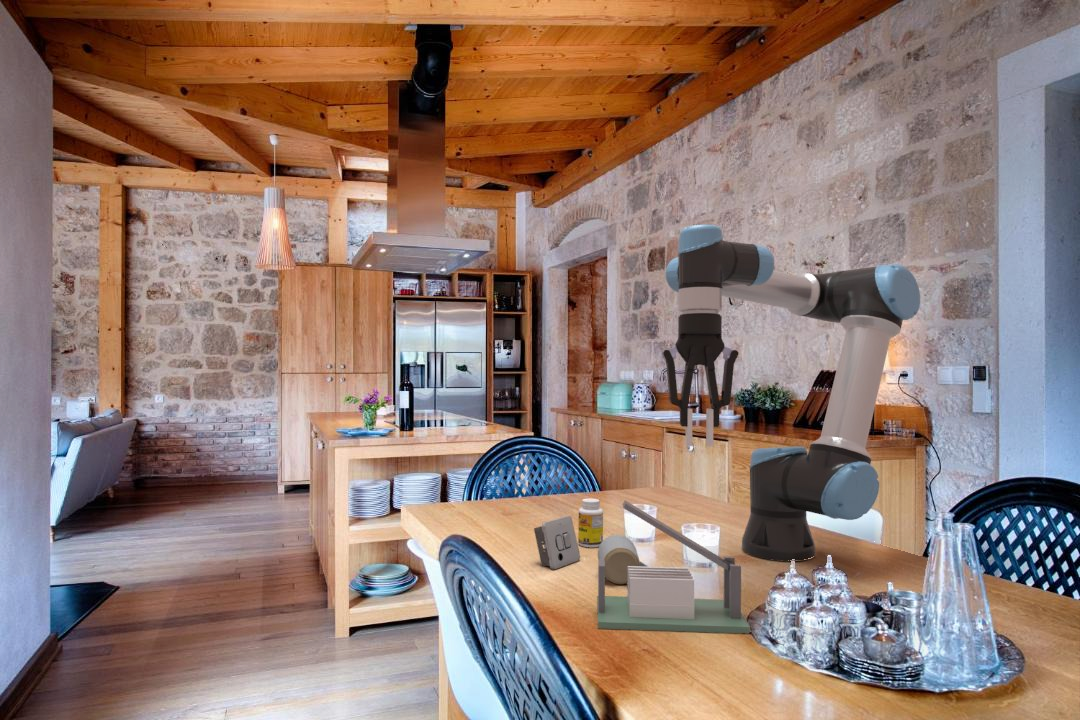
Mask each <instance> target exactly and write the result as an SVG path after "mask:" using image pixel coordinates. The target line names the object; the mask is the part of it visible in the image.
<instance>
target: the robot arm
mask: <svg viewBox="0 0 1080 720" xmlns="http://www.w3.org/2000/svg"><path fill="white" fill-rule="evenodd" d="M678 237H679V239H678V250H677V255H678V256H677V257H674V258H673V259H671V260H670V261H669V263H668V264H667V267H666V269H665V279H666V282H667V284H668V286H669V288H671V290H672V291H674V292H676V293H678V312H679V313H681V314H680V315H679V316H678V321H677V322H678V323H677V325H678V326H677V327H678V329H677V332H678V334H677V336H678V337H677V341H676V342H675V344H674V346H673V347H671V348H668V349H664V350H662V352H661V355H662V357H663V360H664V362H665V363H666V364H665V365H666V374H667V375H666V378H667V387H668V390H667V391H668V401H669V403H670V404H671V405H674V406H676V407H678V408H679V425H680V426H681V427H685V446H687V447H693V408H690V407H689V402H690V398H691V397H690V396H691V390H692V383H693V377H694V373H695V367H696V366H702V367H703V366H704V370H705V371H704V372H705V377H706V383H707V391H708V397H709V403H710V408H706V411H705V413H706V418H705V419H706V425H705V427H706V429H705V430H706V432H705V434H706V435H705V437H706V438H705V441H706V443H705V444H706V446H708V447H714V428H719V426H720V409H721V408H723V407H726V406H729V405H730V404H731V398H732V389H733V378H734V369H735V368H734V367H735V362H736V360H737V358H738V356H739V353H740V352H739V351H738V350H737V349H734V350H733V349H731V348H729V347H727V346H725V342H724V341H723V338H722V337H723V335H722V326H723V325H722V319H723V318H722V317H723V316H722V315H721V314H719V312H721V311H722V310H723V307H722V306H723V305H722V303H723V302H722V301H723V299H722V297H725V298H731V299H736V300H741V301H746V302H751V303H755V304H761V305H767V306H772V307H777V308H783V309H787V310H788V311H789V313H791V314H793V315H796V316H800V317H804V318H805V317H806V318H808V319H809V318H810V319H814V320H819V321H825V322H830V323H837V324H840V325H841V326H842V327H843V329H844V331H845V334H844V338H843V342H842V347H841V350H840V353H839V358H838V363H837V367H836V370H835V371H836V372H835V375H834V380H833V382H832V383H833V384H832V388H831V391H830V396H829V401H828V404H827V408H826V413H825V417H824V421H823V425H822V430H821V435H820V437H819V438H817V439H815V440H814V441H812V442H811V443H810V445H809V449H808V451H807V448H806V446H779V447H777V446H776V447H765V448H764V447H762V448H756V449H754V450H753V451H752V452H751V454H750V465H749V485H750V486H749V492H750V495H749V496H750V498H749V499H750V502H749V503H750V510H749V511H750V513H749V514H750V515H749V518H748V521H747V524H746V527H745V530H744V533H743V535H742V540H741V549H742V551H743V552H744V553H745V552H746V554H747V553H748V555H750V556H752V555H753V556H752V557H755V556H756V558H759V557H760V559H764V558H765V560H770V559H773V560H772V561H777V560H783V561H782V562H791V561H790V560H792V559H795V560H804V559H808V558H811V557H813V556H815V557H816V544H815V540H814V538H813V536H812V531H811V529H810V526H809V523H808V521H807V512H809V513H813V514H818V515H821V516H826V517H829V518H831V519H834V520H835V519H837V520H838V519H839V520H847V521H853V520H858V519H860V518H862V517H863V516H864V515H865V514H867V513H869V511H870V510H871V509H872V508H873V506H874V504H875V502H876V501H877V498H878V495H879V491H880V481H879V480H878V479H879V475H878V471H877V470H876V469H875V467H874V466H873V465H871V464H872V457H871V455H870V453H869V452H868V451H867V448H866V447H867V443H868V438H869V434H870V429H871V426H872V425H871V424H872V420H873V416H874V411H875V408H876V402H877V398H878V394H879V390H880V385H881V381H882V377H883V372H884V367H885V365H886V358H887V354H888V350H889V346H890V341H891V339H893V338H894V337H896V336H898V335H899V334H900V333H901V331H902V325H903V321H909V320H910V319H913V318H914V317H915V316H916V315H917V314H918V312H919V309H920V306H921V291H920V287H919V284H918V283H917V280H916V277H915V276H914V274H913V273H912V272H911V270H910V269H909V268H907V267H905V266H904V265H903V264H902V265H901V264H898V263H897V264H896V263H893V264H879V265H877V266H869V267H862V268H855V269H847V270H839V271H833V272H828V273H827V272H826V273H816V274H814V273H809V272H801V273H797V274H792V273H788V272H783V271H779V270H775V258H774V255H773V253H772V252H771V250H770V249H769V248H768V247H766V246H762V245H757V244H755V243H744V242H743V243H742V242H735V241H728V240H723V239H724V236H723V231H722V228H721V227H720V226H718V225H715V224H695V225H689V226H686V227H683V229H681V231H680V232H679V236H678ZM677 352H678V354H679V355H680V357H681V358H682V359H683V361H684V362H685V363H684V373H683V379H682V386H681V393H680V399H679V398H678V388H677V376H676V365H675V359H677ZM721 353H722V358H723V360H724V364H723V374H722V375H723V376H722V384H721V395H720V397H719V390H718V383H717V378H716V377H717V375H716V366H715V362H716V360H717V359H718V357H720V355H721ZM788 560H789V561H788ZM804 561H805V560H804Z"/></svg>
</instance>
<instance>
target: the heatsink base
mask: <svg viewBox="0 0 1080 720" xmlns="http://www.w3.org/2000/svg"><path fill="white" fill-rule="evenodd" d="M597 559H598V558H597ZM723 559H724V560H726V561H727V562H729V561H732V562H734V564H735V565H730V574H729V572H728V571H727V570H726V569H724V568H723V599H715V598H714V599H713V598H712V599H708V598H695V579H694V577H693V576H692V573H691V571H690V568H689V567H678V566H677V567H676V566H675V567H674V566H672V567H670V566H668V567H667V566H648V567H642V566H628V583H627V592H626V593H627V594H626V596H624V595H623V596H620V595H619V596H618V595H606V577H605V560H604V559H598V561H597V563H598V566H597V567H598V568H597V571H598V572H597V573H598V574H597V575H598V578H597V579H598V580H597V581H598V582H597V584H598V586H597V587H598V589H597V596H596V598H597V599H596V604H597V605H596V606H597V607H596V608H597V609H596V610H597V629H600V630H601V629H604V630H606V629H607V630H629V629H630V630H632V631H633V630H634V631H635V630H636V631H658V632H660V631H661V632H667V631H668V632H684V631H685V632H689V633H692V632H693V633H714V634H716V633H718V634H720V633H721V634H742V633H745V634H746V635H747V634H748V635H749V629H750V628H751V626H750V624H749V623H748V621H747V619H746V617H745V616H744V614H743V613H742V566H741V564H736V560H735V559H736V558H735V556H723ZM630 630H629V631H630Z"/></svg>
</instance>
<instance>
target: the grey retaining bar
mask: <svg viewBox="0 0 1080 720" xmlns="http://www.w3.org/2000/svg"><path fill="white" fill-rule="evenodd" d="M621 505H622V508H623V509H624V510H626V511H627V512H629V513H631V514H632V515H634V516H636V517H638V518H640V519H641V520H642V521H644V522H646V523H647V524H649V525H651V526H653V527H655V529H657V530H659V531H661V532H662V533H665V534H666V535H668V536H669V537H671V538H673V539H674V540H676V541H678V542H679V543H681V544H683V545H684V546H686V547H688V548H689V549H690V550H692V551H694V552H696V553H697V554H700V555H701V556H703V558H706V559H707V560H709V561H711V562H712V563H714V564H716V565H718V566H719V567H721V568H722V569H723V570H724V569H726V570H727V571H728V572H729V574H730V565H736V563H735V564H734V562H732V561H729V562H727V561H726V560H724V558H723V557H721V556H719V555H718V554H716V553H714V552H712V551H710V550H709V549H707V548H705V547H704V546H703V545H701V544H699V543H697V542H696V541H694V540H693V539H690V538H688V536H686V535H684V534H683V533H680V532H679V531H677V530H676V529H674V528H672V527H671V526H669V525H667V524H666V523H664V522H662V521H661V520H659V519H657V518H656V517H654V516H652V515H650V514H649V513H647V512H645V511H643V510H642V509H640V508H639V507H637V506H636V505H634V504H632V503H630V502H628V500H624V501H623V503H622V504H621Z"/></svg>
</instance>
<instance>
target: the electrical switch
mask: <svg viewBox="0 0 1080 720" xmlns="http://www.w3.org/2000/svg"><path fill="white" fill-rule="evenodd" d="M541 523H542V524H541V525H540V526H538V527H534V528H533V531H534V534H535V535H534V536H535V540H536V546H537V549H538V555H539V559H540V564H541V567H549V568H550V569H551V570H552V569H553V570H557V569H560V568H563V567H565V566H567V565H570V564H573V563H576V562H579V561H580V559H581V554H580V548H579V543H578V540H577V536H576V532H575V526H574V523H573V518H572V516H570V515H566V516H565V515H564V516H562V517H559V518H555V519H551V520H548V521H544V522H541Z"/></svg>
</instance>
